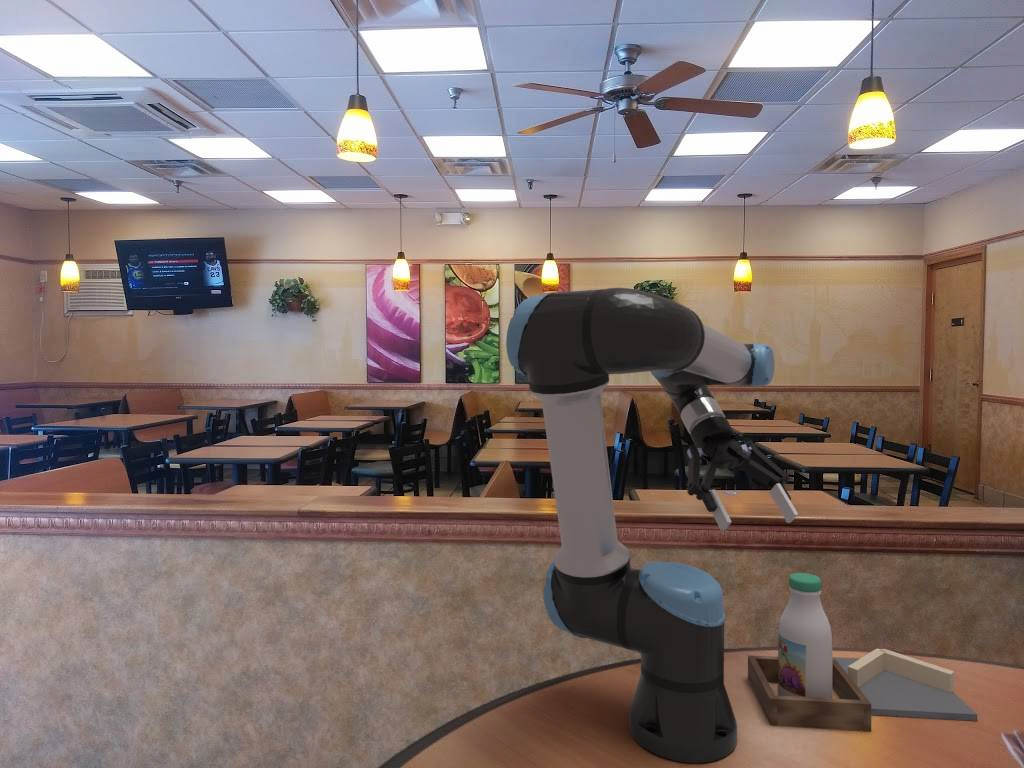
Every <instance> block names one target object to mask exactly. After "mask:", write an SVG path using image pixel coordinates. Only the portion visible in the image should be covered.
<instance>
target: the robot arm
mask: <svg viewBox="0 0 1024 768" xmlns="http://www.w3.org/2000/svg"><path fill="white" fill-rule="evenodd" d="M505 342H506V343H505V344H506V345H505V346H506V355H507V359H508V360H509V363H510V365H511V366H512V367H513V369H514V371H516V373H518V374H521V375H522V376H527V382H528V387H529V392H530V394H532V395H533V396H535V397H536V398H537V399H539V400H540V401H541V406H542V413H543V420H544V427H545V433H546V434H545V435H546V441H547V448H548V456H549V463H550V470H551V471H550V472H551V477H552V486H553V492H554V498H555V506H556V512H557V514H556V515H557V520H558V527H559V534H560V535H559V536H560V542H561V543H560V544H561V547H560V548H559V550H557V552H556V553H555V555H554V557H553V561H552V562H550V564H549V565H548V568H547V570H546V572H545V576H544V581H545V584H544V585H543V590H542V593H543V594H542V595H543V596H542V597H543V604H544V607H545V608H544V609H545V611H546V614H547V616H548V618H549V619H550V621H551V623H552V624H553V625H554V626H555V627H557V628H558V630H561V631H563V632H566V633H569V634H571V635H573V636H575V637H578V638H580V639H589V640H593V641H597V642H599V643H603V644H607V645H609V646H610V645H611V646H615V647H618V648H622V649H625V650H629V651H633V652H636V653H638V654H640V676H639V679H638V682H637V685H636V688H635V691H634V694H633V697H632V700H631V702H630V706H629V709H628V710H629V711H628V725H629V726H628V728H629V732H630V735H631V736H632V738H633V739H634V740H635V742H637V743H638V744H639V745H640V746H641V747H642V748H644V749H646V750H647V751H648V750H649V752H650V751H651V752H650V753H652V752H653V754H654V753H655V754H654V755H657V756H659V757H662V758H664V759H668V760H671V761H675V762H676V761H677V762H681V763H682V762H683V763H696V764H697V763H699V764H700V763H701V764H702V763H708V762H715V761H717V760H720V759H723V758H724V757H727V756H728V755H730V754H731V753H732V752H733V751H734V750H735V748H736V746H737V743H738V725H737V719H736V715H735V713H734V711H733V710H734V709H733V706H732V704H731V700H730V698H729V695H728V692H727V689H726V686H725V685H726V684H725V621H726V611H725V608H724V592H723V589H722V587H721V585H720V583H719V582H718V581H717V579H715V578H714V577H713V575H711V574H710V573H708V572H706V571H704V570H702V569H701V568H698V567H695V566H692V565H688V564H685V563H682V562H681V563H680V562H676V561H670V562H668V561H667V562H666V561H663V560H660V561H658V560H657V561H649V562H648V563H645V564H644V565H643V566H642V567H641V569H638V568H633V567H632V566H631V565H632V564H631V559H630V552H629V550H628V548H627V547H626V546H625V545H624V544H623V543H621V542H620V541H618V533H617V525H616V524H617V523H616V514H615V508H614V506H615V505H614V499H613V490H612V482H611V475H610V467H609V466H610V465H609V457H608V449H607V440H606V439H607V438H606V431H605V423H604V415H603V407H602V406H603V405H602V398H601V393H602V392H603V390H604V389H605V388H606V387H607V386H608V385H609V383H610V375H623V374H634V373H635V374H637V373H645V372H646V373H647V372H650V373H651V375H652V376H653V377H654V378H655V379H656V380H657V382H658V383H659V384H660V386H661V387H662V388H663V390H664V392H666V393H665V394H667V395H668V396H669V398H670V400H671V401H672V403H673V405H674V407H675V409H676V410H677V412H678V414H679V416H680V418H681V421H682V422H683V425H684V427H685V428H686V430H687V432H688V434H689V435H690V438H691V440H692V442H693V444H691V445H690V446H689V448H688V449H687V451H686V453H685V456H686V460H687V463H688V464H687V466H688V468H687V494H688V495H689V496H691V497H692V496H694V495H695V498H696V499H697V500H698V501H702V502H703V505H704V507H705V508H706V510H707V511H708V513H711V514H712V515H713V517H714V519H715V522H716V524H717V526H718V527H719V530H720V531H721V532H723V531H726V530H727V528H729V526H730V525H731V524H732V520H731V517H730V516H729V514H728V512H727V510H726V508H725V506H724V504H723V503H722V500H721V497H720V496H719V494H718V492H717V490H716V489H710V488H711V487H712V483H713V481H714V477H715V475H716V472H717V469H719V470H720V471H721V470H725V469H728V470H729V469H730V470H732V469H736V470H737V471H740V472H742V471H743V472H744V473H745V474H747V475H749V476H750V477H752V478H754V479H755V480H757V481H758V482H759V483H761V484H763V485H764V486H766V487H768V488H769V489H770V491H769V494H770V496H771V497H772V500H773V501H774V503H775V505H776V506H777V508H778V510H779V511H780V514H781V515H782V517H783V518H784V520H785V522H786V523H787V524H790V523H792V522H793V521H794V520H795V519H796V517H798V515H799V513H798V511H797V509H796V508H795V506H794V504H793V502H792V497H791V495H790V494H789V492H788V490H787V489H786V487H785V484H786V483H787V482H788V481H789V480H790V478H791V477H790V476H789V474H787V473H786V472H785V471H784V470H782V468H780V467H779V466H778V464H776V463H774V462H773V461H772V460H771V459H770V458H769V457H767V455H765V454H764V453H763V452H762V451H760V450H759V449H758V447H757V445H756V444H755V443H754V442H753V441H752V440H748V441H747V442H746V443H745V444H740V443H739V442H738V441H736V435H735V431H734V429H733V428H732V426H731V424H730V422H729V421H728V419H727V418H726V414H725V413H724V412H723V410H722V409H721V407H720V405H719V404H718V401H717V400H716V399H715V397H714V395H713V394H712V392H711V389H710V388H709V386H725V387H750V388H751V387H763V386H766V387H767V386H768V385H769V384H771V383H772V381H773V378H774V376H775V375H774V374H775V356H774V352H773V351H774V350H773V349H772V347H771V345H769V344H767V343H756V342H752V343H742V342H741V341H739V340H736V339H735V338H732V337H729V336H728V335H726V334H724V333H722V332H720V331H719V330H716V329H714V328H712V327H710V326H708V325H706V324H704V323H703V321H702V320H701V318H700V316H699V315H698V314H697V313H696V312H695V311H693V310H692V309H690V308H689V307H687V306H685V305H683V304H681V303H679V302H677V301H674V300H672V299H670V298H666V297H664V296H661V295H657V294H654V293H651V292H647V291H644V290H639V289H636V288H635V289H634V288H629V287H610V288H609V287H607V288H603V289H602V288H601V289H588V290H586V289H585V290H573V291H559V292H557V291H554V292H548V293H544V294H538V295H533V296H529V297H527V298H526V299H524V300H523V301H521V303H519V304H518V306H517V307H516V308H515V310H514V312H513V315H512V317H511V318H510V320H509V322H508V327H507V330H506V341H505ZM701 458H702V459H704V460H705V461H707V465H706V468H705V471H704V475H703V478H702V480H701V481H700V478H701V477H700V476H701V472H700V471H701V467H700V466H701ZM741 460H742V461H741ZM740 462H741V463H740ZM700 482H701V483H700Z"/></svg>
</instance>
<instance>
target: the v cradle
mask: <svg viewBox="0 0 1024 768" xmlns="http://www.w3.org/2000/svg"><path fill="white" fill-rule="evenodd" d="M832 659H836V660H837V662H838V663H839V664H840V665H841V667H842V668H843V669H844V670H845V672H846V673H847V674H848V675H849V677H850V678H851V679H852V680H853V682H854V683H855V684H856V685H857V687H858V688H859V689H860V690H861V692H862V693H863V694H864V695H865V697H866V698H867V699H868V700H869V702H870V703H871V704H872V705H871V716H879V715H889V716H888V717H896V716H898V717H899V718H913V719H916V718H918V719H921V718H922V719H935V720H954V721H972V722H973V721H974V722H977V721H978V713H976V712H975V710H973V709H972V708H971V707H970V706H969V705H968V704H967V703H966V702H965V701H964V700H962V698H960V697H959V696H958V695H957V694H956V693H955V692H954V691H955V671H954V670H951V669H947V668H945V667H941V666H939V665H936V664H932V663H930V662H926V661H923V660H920V659H917V658H914V657H911V656H908V655H906V654H905V655H904V654H902V653H898V652H895V651H892V650H889V649H886V648H882V649H881V648H878V647H877V648H876V649H873V650H872V651H870V652H868V653H867V654H865V655H863V656H862V657H859V658H858V657H839V656H837V657H835V656H832ZM890 715H891V716H890Z"/></svg>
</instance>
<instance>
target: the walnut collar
mask: <svg viewBox="0 0 1024 768" xmlns="http://www.w3.org/2000/svg"><path fill="white" fill-rule="evenodd" d="M747 681H748V683H749V684H750V686H751V688H752V691H753V693H754V695H755V697H756V699H757V702H758V703H759V706H760V708H761V709H762V712H763V714H764V716H765V718H766V720H767V722H768V724H769V726H776V727H787V728H788V727H792V728H793V727H794V728H808V729H823V730H824V729H826V730H839V731H840V730H842V731H858V732H859V731H861V732H872V715H871V705H872V704H871V703H870V702H869V700H868V699H867V698H866V697H865V695H864V694H863V693H862V692H861V690H860V689H859V688H858V687H857V685H856V684H855V683H854V682H853V680H852V679H851V678H850V677H849V675H848V674H847V673H846V672H845V670H844V669H843V668H842V667H841V665H840V664H839V663H838V662H837V660H836V659H832V690H834V692H835V693H836V694H837V696H838V697H839V698H832V699H830V698H811V697H793V696H778V695H775V693H774V691H773V689H772V687H771V685H770V684H771V683H772V684H778V656H769V655H766V656H765V655H747Z"/></svg>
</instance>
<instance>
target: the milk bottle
mask: <svg viewBox="0 0 1024 768" xmlns="http://www.w3.org/2000/svg"><path fill="white" fill-rule="evenodd" d="M822 583H823V582H822V579H821V578H820V577H819V576H818V575H815V574H813V573H812V574H811V573H807V572H806V573H805V572H796V573H795V572H794V573H791V574H790V575H789V576H788V585H789V587H788V589H789V591H790V595H789V599H788V600H787V601H788V602H787V604H786V606H785V608H784V609H783V612H782V614H781V616H780V620H779V623H778V624H779V625H778V638H777V639H778V641H777V643H778V644H777V648H778V649H777V650H778V651H777V657H778V683H777V696H793V697H811V698H830V699H833V687H832V657H833V635H832V627H831V624H830V622H829V621H830V620H829V618H828V616H827V614H826V613H825V610H824V608H823V605H822V602H821V597H820V595H821V594H822V587H823V586H822Z"/></svg>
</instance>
